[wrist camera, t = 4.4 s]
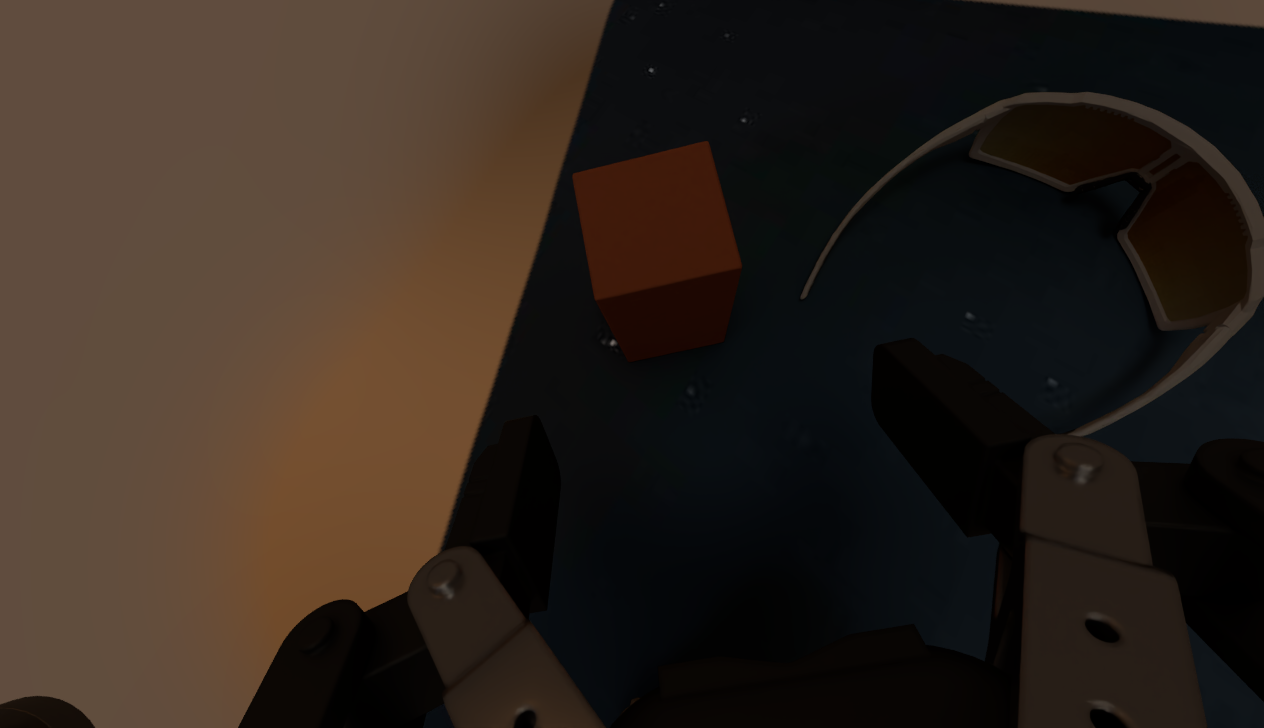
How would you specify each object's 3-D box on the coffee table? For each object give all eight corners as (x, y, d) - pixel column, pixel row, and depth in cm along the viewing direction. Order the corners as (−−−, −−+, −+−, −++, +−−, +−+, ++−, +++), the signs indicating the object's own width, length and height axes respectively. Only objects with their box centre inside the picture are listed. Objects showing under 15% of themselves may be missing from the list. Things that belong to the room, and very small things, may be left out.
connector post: (628, 363, 25) (594, 300, 16) (611, 274, 26) (571, 172, 17) (724, 342, 24) (743, 267, 16) (702, 253, 26) (708, 139, 17)
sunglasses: (1243, 306, 22) (1382, 269, 17) (956, 497, 23) (1010, 512, 19) (1004, 103, 25) (1063, 26, 21) (770, 280, 27) (774, 246, 22)
